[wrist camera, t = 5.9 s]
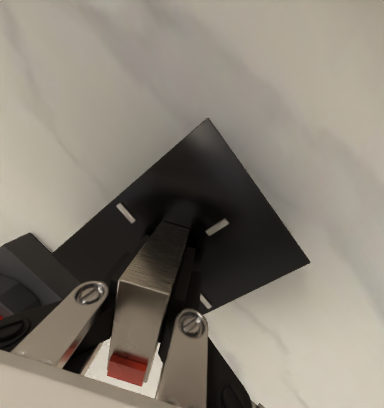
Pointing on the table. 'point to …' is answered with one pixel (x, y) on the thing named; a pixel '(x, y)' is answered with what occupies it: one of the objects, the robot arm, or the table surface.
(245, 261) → the black flat block
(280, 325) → the table surface
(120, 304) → the red-tagged slide lever
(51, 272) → the box
